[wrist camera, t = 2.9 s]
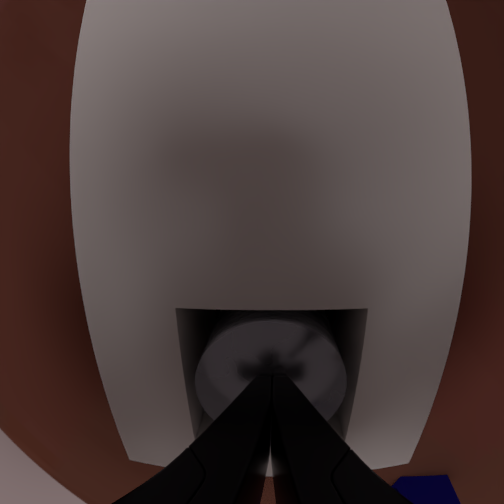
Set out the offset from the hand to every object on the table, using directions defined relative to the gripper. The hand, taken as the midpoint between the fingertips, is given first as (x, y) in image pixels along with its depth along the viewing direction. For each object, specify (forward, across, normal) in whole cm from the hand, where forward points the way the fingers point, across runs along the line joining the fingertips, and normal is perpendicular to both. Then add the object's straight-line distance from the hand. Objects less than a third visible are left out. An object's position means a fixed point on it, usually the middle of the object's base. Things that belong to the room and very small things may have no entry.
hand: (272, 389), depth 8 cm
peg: (+5, 0, 0) cm, 5 cm away
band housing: (+5, 0, -7) cm, 9 cm away
